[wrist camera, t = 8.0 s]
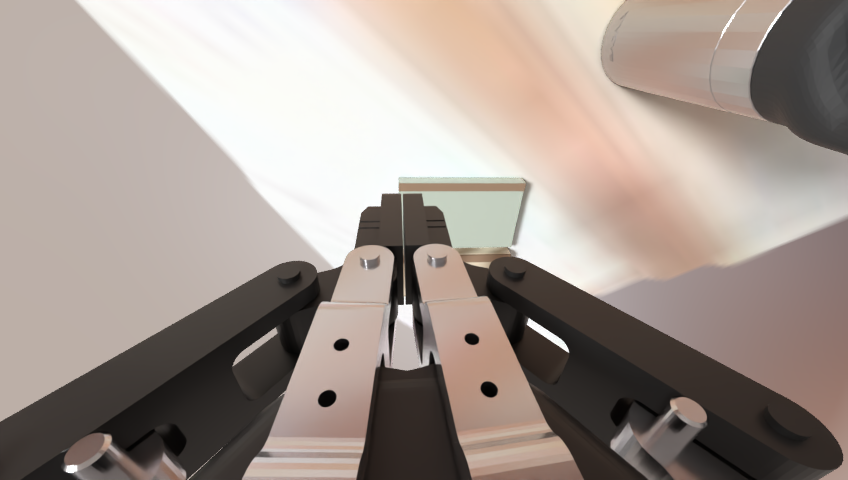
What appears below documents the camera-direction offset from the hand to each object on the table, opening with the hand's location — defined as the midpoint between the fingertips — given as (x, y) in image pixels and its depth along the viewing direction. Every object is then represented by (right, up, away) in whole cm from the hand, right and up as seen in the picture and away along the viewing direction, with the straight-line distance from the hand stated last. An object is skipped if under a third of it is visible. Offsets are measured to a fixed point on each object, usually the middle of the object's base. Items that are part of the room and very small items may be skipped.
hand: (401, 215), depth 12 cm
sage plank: (+5, +3, +31) cm, 31 cm away
